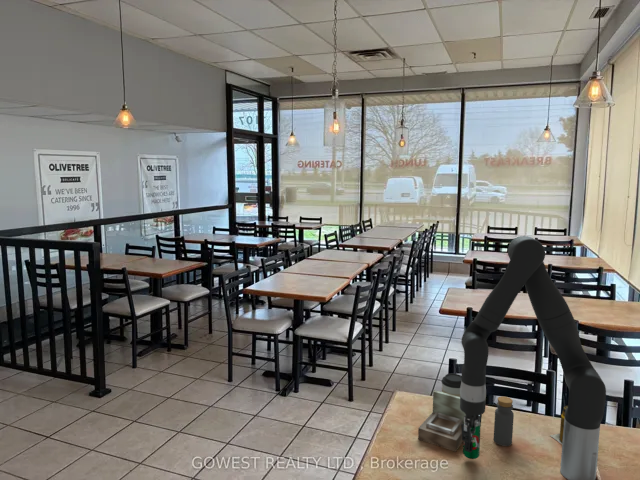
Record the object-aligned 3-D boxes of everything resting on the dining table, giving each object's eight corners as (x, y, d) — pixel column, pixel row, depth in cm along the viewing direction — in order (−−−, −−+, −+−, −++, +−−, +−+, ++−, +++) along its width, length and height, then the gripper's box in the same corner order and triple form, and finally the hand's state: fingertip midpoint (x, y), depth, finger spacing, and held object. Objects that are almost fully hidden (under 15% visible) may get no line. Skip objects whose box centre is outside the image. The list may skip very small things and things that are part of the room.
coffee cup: (439, 418, 174) (441, 379, 172) (440, 406, 182) (442, 369, 180) (465, 422, 171) (467, 383, 169) (465, 410, 180) (466, 372, 178)
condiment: (568, 449, 154) (571, 415, 153) (549, 435, 162) (551, 403, 161) (586, 445, 157) (589, 411, 155) (566, 432, 165) (568, 400, 163)
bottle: (513, 447, 156) (516, 404, 153) (494, 445, 157) (497, 402, 155) (510, 437, 161) (512, 396, 159) (492, 435, 162) (494, 394, 160)
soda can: (466, 448, 152) (467, 413, 150) (481, 454, 148) (483, 418, 147) (459, 456, 148) (460, 420, 146) (475, 462, 145) (477, 425, 143)
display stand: (469, 432, 164) (470, 400, 163) (455, 451, 153) (457, 417, 151) (433, 421, 172) (434, 390, 170) (418, 439, 160) (419, 405, 159)
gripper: (478, 408, 137) (476, 462, 140) (491, 389, 149) (489, 439, 151) (453, 401, 142) (451, 454, 144) (467, 384, 153) (466, 432, 156)
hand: (471, 446), depth 148 cm, fingers closed on soda can, 5 cm apart
